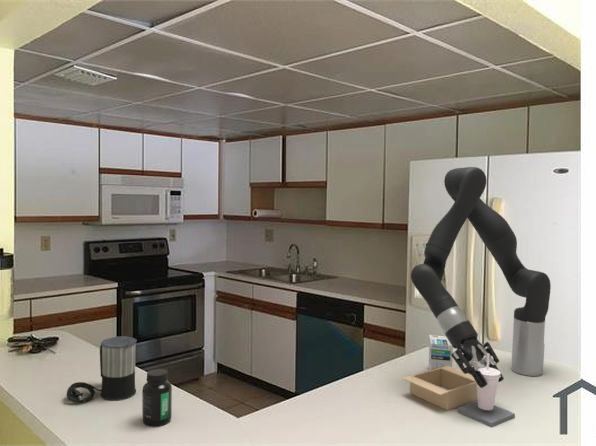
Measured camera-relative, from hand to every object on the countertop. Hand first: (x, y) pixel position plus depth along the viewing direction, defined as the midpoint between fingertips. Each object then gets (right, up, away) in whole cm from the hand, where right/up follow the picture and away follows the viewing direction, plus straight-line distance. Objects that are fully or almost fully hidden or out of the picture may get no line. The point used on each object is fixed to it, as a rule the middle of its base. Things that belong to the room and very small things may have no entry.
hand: (492, 383), depth 125 cm
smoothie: (-1, -7, +2) cm, 7 cm away
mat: (-1, -9, +2) cm, 9 cm away
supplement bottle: (-84, -7, -6) cm, 85 cm away
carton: (-9, -8, +13) cm, 17 cm away
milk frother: (-103, -6, +7) cm, 103 cm away
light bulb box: (-4, -7, +31) cm, 33 cm away
